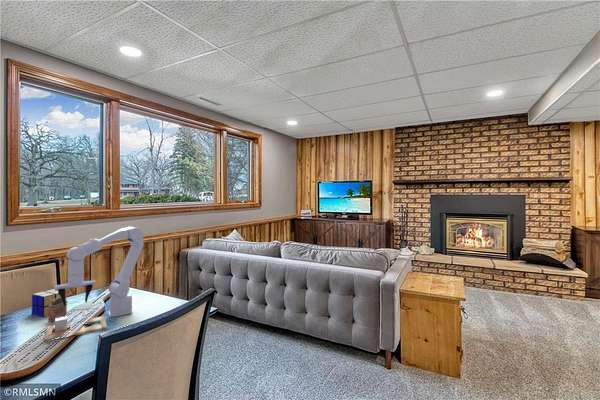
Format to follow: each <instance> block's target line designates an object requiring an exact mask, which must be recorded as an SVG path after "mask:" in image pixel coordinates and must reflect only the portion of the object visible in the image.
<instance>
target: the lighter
mask: <svg viewBox="0 0 600 400" xmlns="http://www.w3.org/2000/svg"><path fill="white" fill-rule="evenodd" d="M65 298H66V306H64V304H63V300H62V298H61V297H60V298H55V300H52V304H51V305H49V316H48V323H53V321H54V322H55V319H56V318H59V317H63V316H65V315H66V314H67V313H68V312H67V310H68V309H67V308H68V300H67V296H66V297H65ZM67 315H68V314H67Z"/></svg>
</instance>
